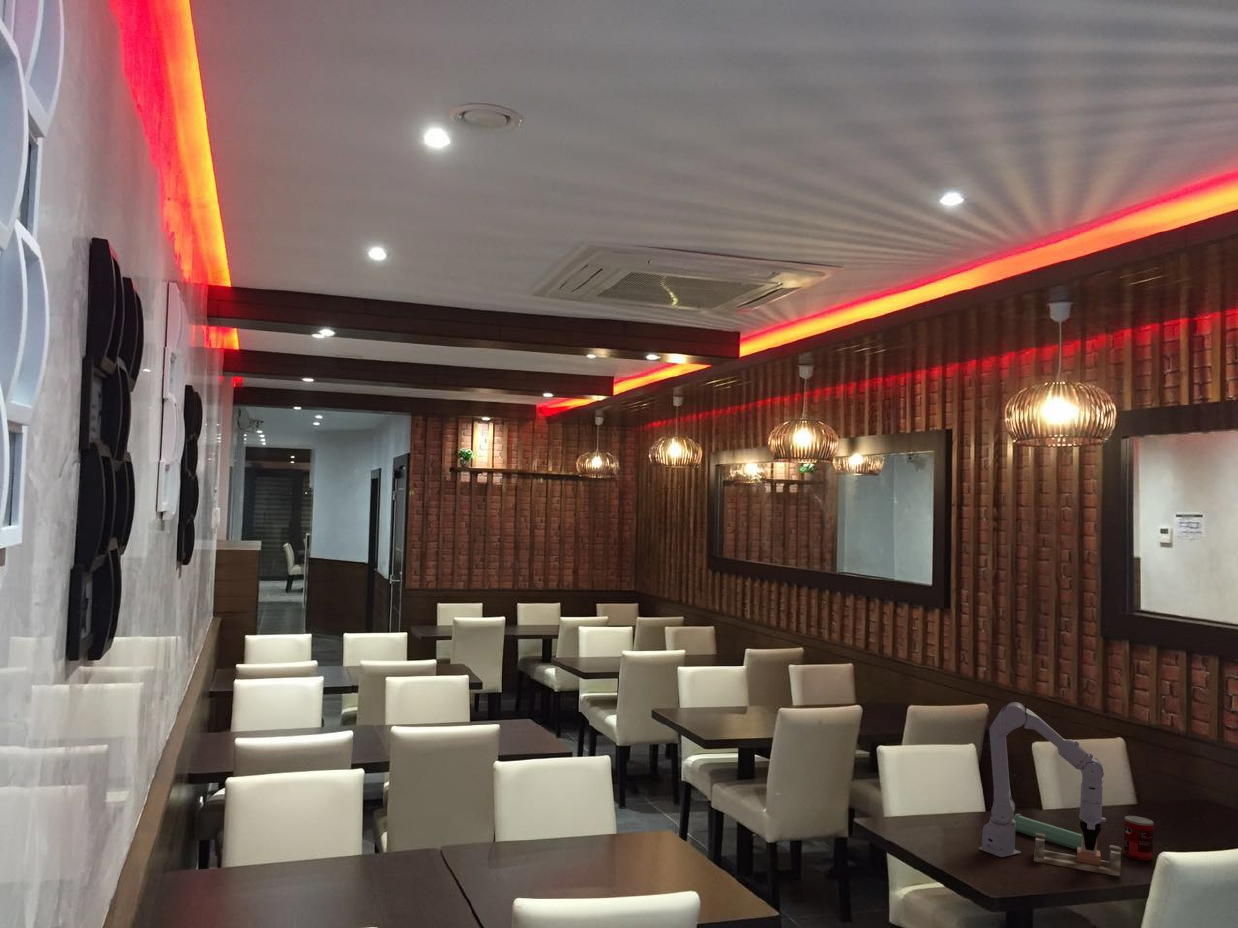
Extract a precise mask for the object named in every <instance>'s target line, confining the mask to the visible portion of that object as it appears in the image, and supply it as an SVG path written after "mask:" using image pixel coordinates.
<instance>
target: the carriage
mask: <svg viewBox="0 0 1238 928" xmlns="http://www.w3.org/2000/svg"><path fill="white" fill-rule="evenodd" d="M1081 834H1082V842H1081V848H1080V847H1077V850H1076V852H1077V853H1076V856H1077V861H1078V862H1084V863H1089V864H1095V865H1100V860H1102V859H1101V850H1098V839H1097V840H1096V844H1095V848H1094V851H1091V850H1086V848H1085V842H1084V835H1083V832H1081Z"/></svg>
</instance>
